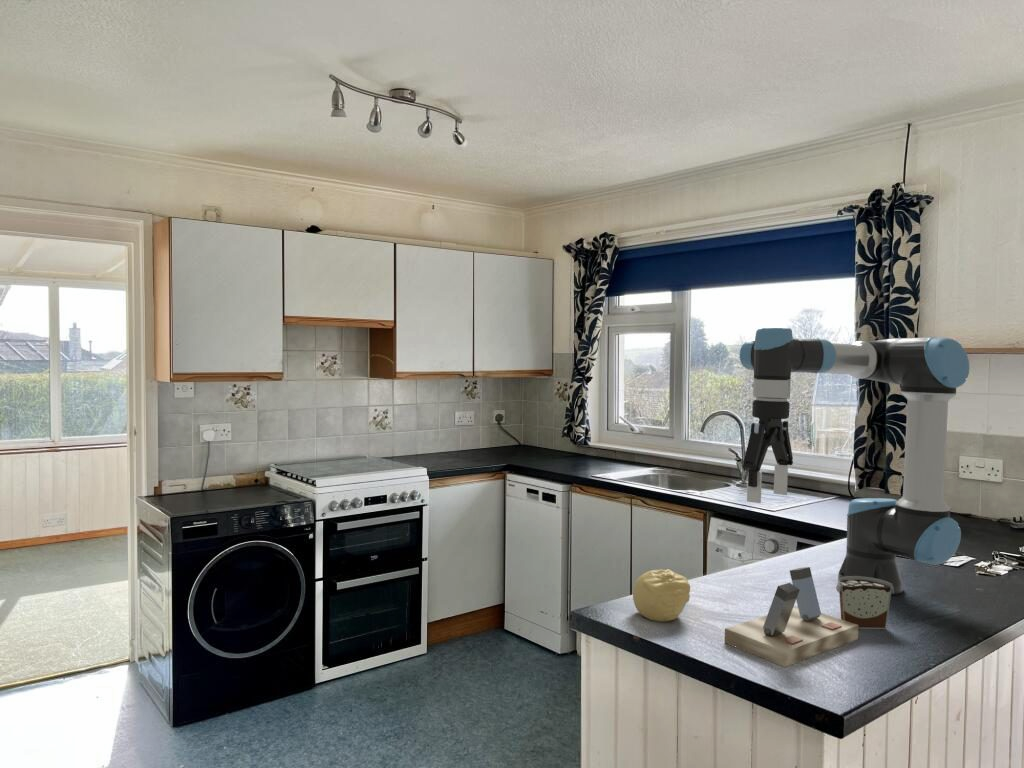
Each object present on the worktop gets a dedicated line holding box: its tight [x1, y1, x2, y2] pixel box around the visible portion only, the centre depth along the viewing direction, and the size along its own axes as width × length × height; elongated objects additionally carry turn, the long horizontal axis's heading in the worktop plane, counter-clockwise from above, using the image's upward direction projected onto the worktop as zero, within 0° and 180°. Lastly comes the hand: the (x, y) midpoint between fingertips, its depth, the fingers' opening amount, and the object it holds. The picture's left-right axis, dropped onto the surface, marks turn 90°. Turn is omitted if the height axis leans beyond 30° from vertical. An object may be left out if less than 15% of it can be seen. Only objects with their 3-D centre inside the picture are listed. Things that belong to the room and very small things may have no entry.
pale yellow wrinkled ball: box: [632, 568, 691, 622], centre depth 165 cm, size 11×12×11 cm
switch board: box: [724, 605, 859, 668], centre depth 152 cm, size 26×14×3 cm, turn 126°
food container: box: [835, 576, 894, 630], centre depth 163 cm, size 12×6×10 cm, turn 92°
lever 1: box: [763, 582, 800, 636], centre depth 147 cm, size 4×2×11 cm, turn 126°
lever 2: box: [789, 566, 822, 622], centre depth 158 cm, size 4×2×11 cm, turn 126°
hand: (767, 498), depth 158 cm, fingers open, 13 cm apart
